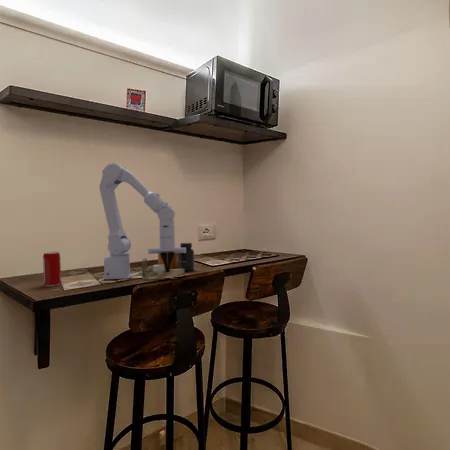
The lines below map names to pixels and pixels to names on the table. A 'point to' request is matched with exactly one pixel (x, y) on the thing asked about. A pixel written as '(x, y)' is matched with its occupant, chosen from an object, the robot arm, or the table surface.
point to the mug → (174, 261)
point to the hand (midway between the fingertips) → (167, 271)
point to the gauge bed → (159, 275)
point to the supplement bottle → (186, 258)
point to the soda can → (51, 268)
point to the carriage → (158, 268)
